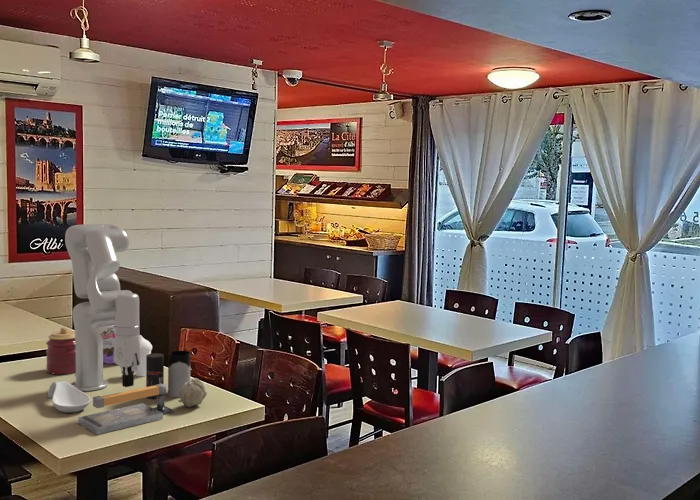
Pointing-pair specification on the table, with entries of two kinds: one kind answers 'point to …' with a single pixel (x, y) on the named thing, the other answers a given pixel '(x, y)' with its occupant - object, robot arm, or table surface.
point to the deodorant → (154, 370)
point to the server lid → (119, 418)
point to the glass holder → (178, 371)
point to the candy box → (108, 342)
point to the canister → (61, 352)
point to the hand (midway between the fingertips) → (128, 385)
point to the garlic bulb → (192, 393)
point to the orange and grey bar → (128, 395)
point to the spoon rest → (67, 397)
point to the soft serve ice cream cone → (143, 356)
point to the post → (162, 405)
